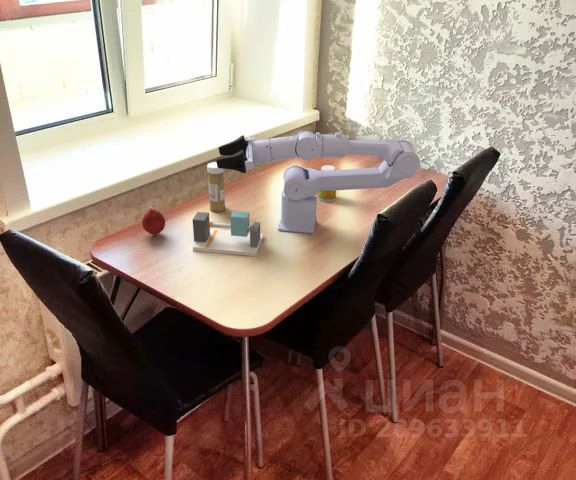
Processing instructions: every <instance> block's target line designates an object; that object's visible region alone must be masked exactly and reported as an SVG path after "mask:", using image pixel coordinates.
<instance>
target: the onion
mask: <svg viewBox="0 0 576 480" xmlns="http://www.w3.org/2000/svg"><path fill="white" fill-rule="evenodd" d="M141 225H142V228H143V230H144V231H145V232H147V233H148V234H150V235H152V236H157V235H158V234H160V233H161V232H162V231H163V230H164V228H165V226H166V218H165V216H164V215H163V214H162V213H161V212H160V210H157V209H155V208H154V207H153V206H150V207H149V210H147V211H146V213H144V214H143V216H142V219H141Z"/></svg>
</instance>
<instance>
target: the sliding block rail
mask: <svg viewBox="0 0 576 480" xmlns="http://www.w3.org/2000/svg"><path fill="white" fill-rule="evenodd" d="M215 228H216V229H215ZM192 229H193V230H192V231H193V242H195V243H194V244H193V246H192V251H194V252H203V253H205V252H206V253H214V254H216V253H217V254H225V255H239V256H246V257H247V256H248V257H257V255H258V253H259V251H260V248H261V245H262V243H263V241H264V237H265V235H264V233H261V222H260V221H253V223H252V225H249V226H247V230H248V231H249V233H248V235H247V237H241V236H231V223H223V222H222V223H221V222H213V221H210V212H205V211H204V212H203V211H197V212H196V213H195V215H194V216H193V218H192ZM223 229H224V230H223ZM225 229H228V230H225Z"/></svg>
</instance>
